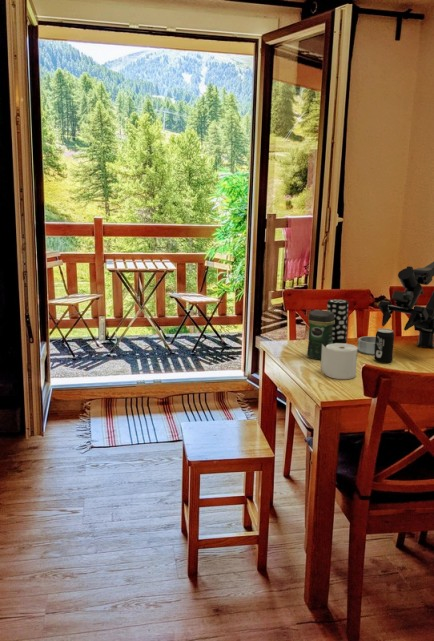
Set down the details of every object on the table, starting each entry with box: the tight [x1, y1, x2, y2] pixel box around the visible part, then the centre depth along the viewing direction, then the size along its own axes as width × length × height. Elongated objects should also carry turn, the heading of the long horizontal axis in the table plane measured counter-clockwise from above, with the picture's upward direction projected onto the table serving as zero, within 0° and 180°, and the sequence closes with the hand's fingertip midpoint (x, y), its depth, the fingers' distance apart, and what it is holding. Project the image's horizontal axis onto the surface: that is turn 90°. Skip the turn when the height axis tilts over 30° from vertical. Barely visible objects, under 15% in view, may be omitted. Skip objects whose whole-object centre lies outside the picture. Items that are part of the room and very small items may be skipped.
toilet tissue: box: [320, 343, 358, 380], centre depth 188 cm, size 11×12×10 cm
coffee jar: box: [306, 309, 335, 361], centre depth 208 cm, size 10×8×19 cm
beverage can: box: [373, 328, 395, 364], centre depth 204 cm, size 7×7×12 cm
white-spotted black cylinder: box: [326, 298, 349, 344], centre depth 219 cm, size 8×8×20 cm
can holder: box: [357, 335, 376, 356], centre depth 218 cm, size 12×12×5 cm
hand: (393, 327), depth 206 cm, fingers open, 9 cm apart
